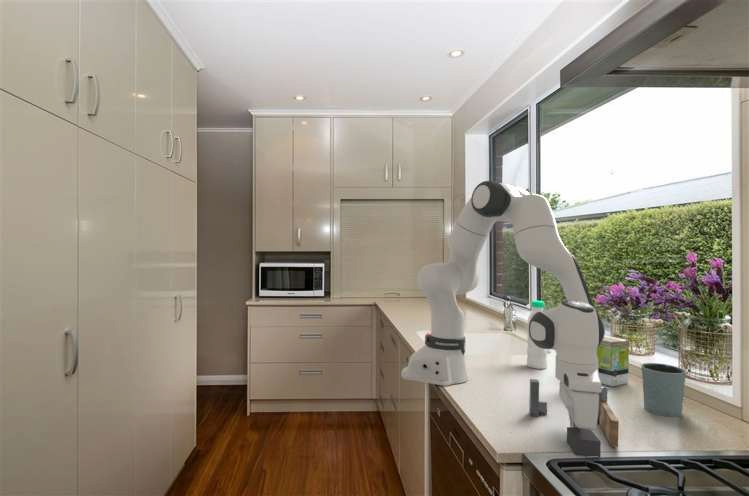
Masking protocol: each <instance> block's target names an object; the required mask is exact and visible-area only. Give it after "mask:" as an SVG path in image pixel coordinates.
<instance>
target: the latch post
mask: <svg viewBox="0 0 749 496" xmlns="http://www.w3.org/2000/svg"><path fill="white" fill-rule="evenodd" d="M528 405H529V408H528V409H529V413H528V414H529V416H530V417H536V418H537V417H539V414H540V415H548V402H547V401H542V400H540V381H539V379H537V378H536V379H533V378H529V404H528Z"/></svg>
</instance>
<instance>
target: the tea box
mask: <svg viewBox="0 0 749 496" xmlns="http://www.w3.org/2000/svg"><path fill="white" fill-rule="evenodd" d="M629 343H630V341H629V339H625V338H620V337H615V336H614V337H613V336H609V335H604V338H603V341H602V342H601V344H600V345H599V346H598V347H597V358H598V371H599V378H600V381H601V384H602V385H605V386H609V387H617V386H620V385H621V386H622V385H627V384H628V383H629V373H630V372H629V370H630V369H629V367H630V365H629V363H630V362H629V360H630V359H629V353H630V351H629V350H630V344H629Z"/></svg>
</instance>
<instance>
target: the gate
mask: <svg viewBox="0 0 749 496" xmlns="http://www.w3.org/2000/svg"><path fill="white" fill-rule="evenodd" d="M599 422H600V426H601V429H602V431H603V432H604V435H605V437H606V439H607V441H608V443H609V445H610V447H617V448H618V447H619V430H620V429H619V426H620V425H619V424H620V423H619V419H618V418H617V416H616V415H615V413H614V411H613V410H612V408H611V406H610V405H609V403H608V401H607V402H606V401H602V400H600V421H599Z"/></svg>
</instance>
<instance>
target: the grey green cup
mask: <svg viewBox="0 0 749 496" xmlns="http://www.w3.org/2000/svg"><path fill="white" fill-rule="evenodd" d="M640 366H641V374H642V387H643V389H642V391H643V393H642V394H643V407H644V408H645V410H646V411H648V412H650V413H652V414H655V415H659V416H664V417H670V418H679V417H682V415H683V403H684V396H685V384H686V378H687V377H686V376H687V371H686V370H685V369H684V368H682V367H679V366H676V365H675V366H674V365H671V364H666V363H656V362H645V363H642V364H641V365H640Z"/></svg>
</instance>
